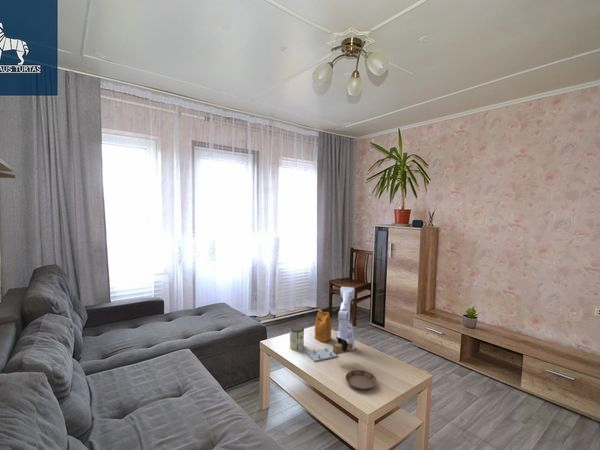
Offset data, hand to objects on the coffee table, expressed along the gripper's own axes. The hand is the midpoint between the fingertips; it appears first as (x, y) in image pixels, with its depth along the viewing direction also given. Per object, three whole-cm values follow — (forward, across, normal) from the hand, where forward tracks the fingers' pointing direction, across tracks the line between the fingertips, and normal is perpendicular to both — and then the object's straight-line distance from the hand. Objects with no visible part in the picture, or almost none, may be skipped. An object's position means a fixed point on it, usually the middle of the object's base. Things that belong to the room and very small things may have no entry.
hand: (342, 349), depth 183 cm
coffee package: (+9, -35, +4) cm, 36 cm away
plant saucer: (+9, +23, -2) cm, 25 cm away
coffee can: (+9, -30, -20) cm, 37 cm away
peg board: (+9, -13, -8) cm, 17 cm away
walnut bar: (+2, 0, 0) cm, 2 cm away
